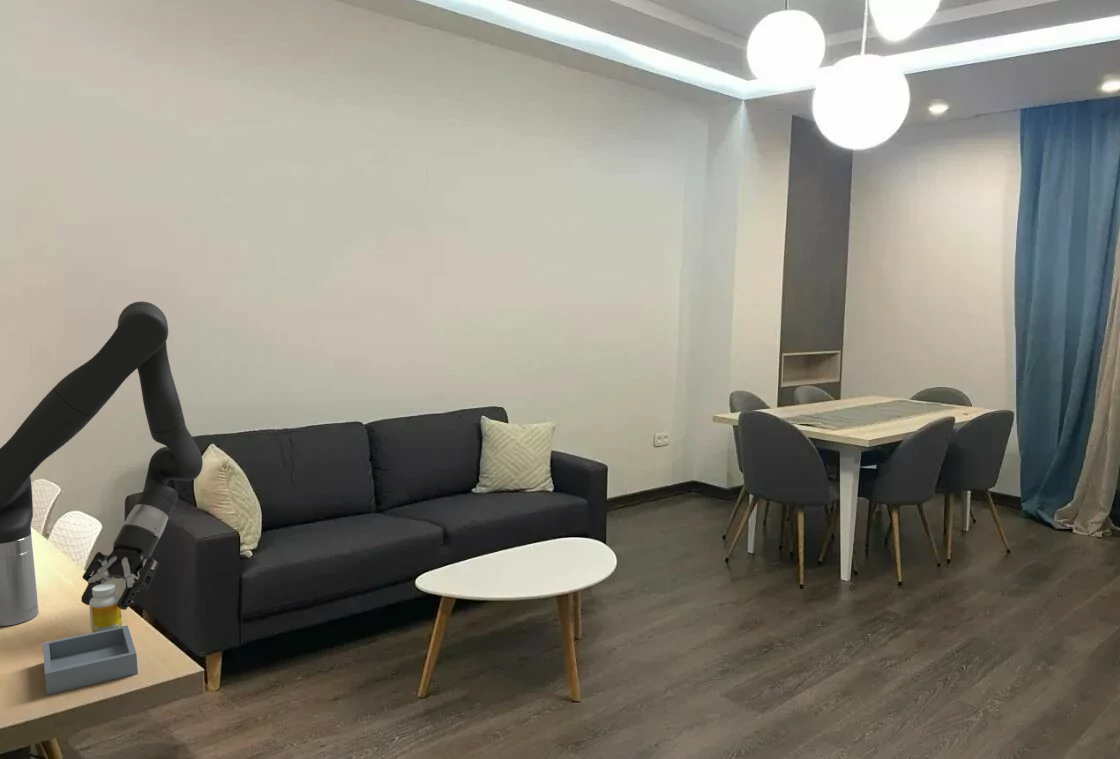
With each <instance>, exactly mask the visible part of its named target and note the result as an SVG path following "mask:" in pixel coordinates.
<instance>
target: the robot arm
mask: <svg viewBox="0 0 1120 759" xmlns="http://www.w3.org/2000/svg"><path fill="white" fill-rule="evenodd" d="M118 316H119V317H118V320H117V327H116V329H115V331H113V333H112V335H111V336H110V337H109V339H108V340H107V341H106V342H105V343H104V345H103V346H102V347H101V349H100V350H98V352H96V354H94V356H92V358H91V359H89V360H88V361H86V362H85V363H83V364H82V365H80V366H78V367H77V368H75V369H74V370H73V371H71V372H69V373H68V374H66V376H64V377H63V378H62V379H60V381H58V383H56V385H54V387H53V388H52V389H51V390H50V391H48V393H47V394H46V395H45V396H44V397H43V399H42V400H40V401H39V403H38V404H37V405H36V406H35V408H34V409H33V410H32V411H31V412H30V413H29V415H28V416H27V417H26V418H25V419H24V421H23V422H22V423H21V424H20V426H19V427H18V428H17V430H16V431H15V432H14V433H13V434H12V436H11V437H10V438H9V439H8V440H7V441H6V442H5V444H3V445H2V446H1V447H0V627H7V626H12V625H17V624H21V623H24V622H27V621H30V620H31V619H34V618H35V617H37V615H39V602H38V591H37V579H36V573H35V572H36V571H35V559H34V557H35V556H34V548H33V538H32V521H33V516H34V509H33V508H34V505H33V502H34V501H33V488H32V487H33V485H32V478H31V476H32V474H33V473H34V472H35V470H36V469H37V468H38V467H39V466H41V464H42V463H43V462H44V461H46V459H47V458H49V457H51V456H52V455H53V454H55V452H56V451H58V450H59V449H60V448H62V447H63V446H64V445H65V444H67V443H68V442H69V441H71V440H72V439H73V438H74V437H75V436H77V434H78V433H80V431H82V430H83V429H84V428H85V427H86V425H88V423H89V422H90V421H92V419H93V418H94V417H95V416H96V415H97V414H98V413H99V412H100V411H101V409H103V407H104V406H105V405H106V403H108V401H109V400H110V399H111V398H112V397H113V396H114V394H115V393H116V391H118V389H119V388H120V387H121V385H122V384H123V383H124V381H126V380H127V378H128V377H129V376H130V375H131V374H133V372H135V371H136V370H137V373H138V377H139V378H138V379H139V383H140V387H141V389H140V390H141V395H142V402H143V407H144V412H145V417H146V420H147V423H148V428H149V432H150V436H151V438H152V439H153V440H154V441H155V442H156V443H159V444H161V445H164V446H163V447H160V448H159V449H157V450H156V451H155V452H154V453H153V455H152V456H151V457H150V460H149V463H148V467H147V473H146V478H145V482H144V486H143V490H142V492H141V494H140V496H139V497H138V499H137V501H136V503H135V505H134V507H133V508H132V509H131V511H130V513H129V514H128V515H127V517H126V519H125V521H124V523H123V525H122V527H121V528H120V530H119V532H118V534H117V536H116V537H115V540H114V542H113V543H112V544H113V548H112V549H113V550H112V551H111V553H110V554H108V555H107V554H103V553H102V552H101V551H98V552H96V554H95V555H94V557H93V559H92V560H91V562H90V563H89V565H88V567H87V568H86V569H85V572H84V573H83V575H82V580H84V581H86V582H87V586H86V587H85V590H84V592H83V593H82V595H81V603H82V604H85V605H86V606H89V602H90V600H91V599H92V598H93V597H94V596H93V595H92V588H93V587H95V586H97V585H100V584H105V583H107V582H111V581H112V580H113V579H123V580H125V581H126V585H127V587H125V588H124V590H123V592H122V594H121V596H119V597H120V599H119V601H118V603H117V607H119V608H120V609H121V610H122V611H123V610H125V611H126V610H127V609H128V608H129V607H130V606H131V605H132V602H133V600H134V598H135V596H136V594H137V593H139V592H140V591H148V590H149V588H150V586H151V583H152V582H153V579H154V576H155V575H156V572H157V570H158V568H159V567H160V566H159V565H160V564H159V562H157V561H156V560H155V559H154V558H153V557H152V555H153V552H154V551H155V548H156V546H157V545H158V542H159V540H160V539H161V537H162V535H163V533H164V531H165V528H166V526H167V522H168V521H169V517H170V516H171V514H172V512H173V510H174V508H175V506H176V504H177V501H178V498H179V494H178V492H177V491H176V489H175V488H173V487H172V486H170V485H168V483H169V481H170V480H172V481H173V480H175V481H184V482H189V481H194V480H195V479H197V478H198V477H199V476H200V475H201V473H202V469H203V467H204V466H203V465H204V464H203V462H204V461H203V456H202V454H201V450H200V449H199V446H198V444H197V443H196V441H195V439H194V438H193V436H192V434H191V433H190V431H189V430H188V428H187V424H186V421H185V415H184V412H183V408H182V403H181V401H180V398H179V394H178V391H177V390H178V389H177V388H176V384H175V381H174V377H173V373H172V370H171V366H170V361H169V356H168V348H167V340H168V337H169V325H168V320H167V318H166V315H165V313H164V312H163V311H162V310H161V309H160V308H159V306H157V305H155V304H153V303H151V302H148V301H143V300H142V301H135V302H132V303H130V304H128V305H126V306H125V307H124V308H123V309H122V311H121V313H120V315H118ZM106 572H107V573H106Z"/></svg>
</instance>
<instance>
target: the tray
mask: <svg viewBox="0 0 1120 759" xmlns="http://www.w3.org/2000/svg"><path fill="white" fill-rule="evenodd" d="M136 651H137V650H136V648H135V645H134V641H133V638H132V634H131V632H130V628H129V625H128V624H127V625H122V627H117V628H112V629H107V630H102V631H97V632H92V633H91V632H88V633H84V634H78V635H74V636H68V637H63V638H60V639H54V640H49V641H44V642H42V654H43V667H44V668H43V669H44V678H45V689H46V690H45V692H46V695H47V696H48V695H53V694H58V693H62V692H66V691H69V690H73V689H78V688H82V687H87V686H91V685H96V684H100V683H105V682H108V681H112V680H118V679H121V678H125V677H130V676H134V675H138V674H139V671H138V670H139V668H138V658H137V657H138V656H137V652H136Z"/></svg>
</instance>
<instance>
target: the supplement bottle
mask: <svg viewBox="0 0 1120 759" xmlns="http://www.w3.org/2000/svg"><path fill="white" fill-rule="evenodd" d="M116 591H117V590H116V584H115V583H110V582H108V583H107V582H105V583H104V584H100V585H97V586H95V587H93V588H92V595H93V596H94V597H93V598H92V599H91V600H90V602H89V605H88V606H89V616H90V617H89V618H90V633H92V632H97V631H102V630H107V629H112V628H117V627H122V626H123V625H122V624H123V622H122V611H121V610H122V609H120V608H119V607H117V603H118V601H119V599H120V597H121V596H120V595H119V594H117V593H116Z"/></svg>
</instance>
